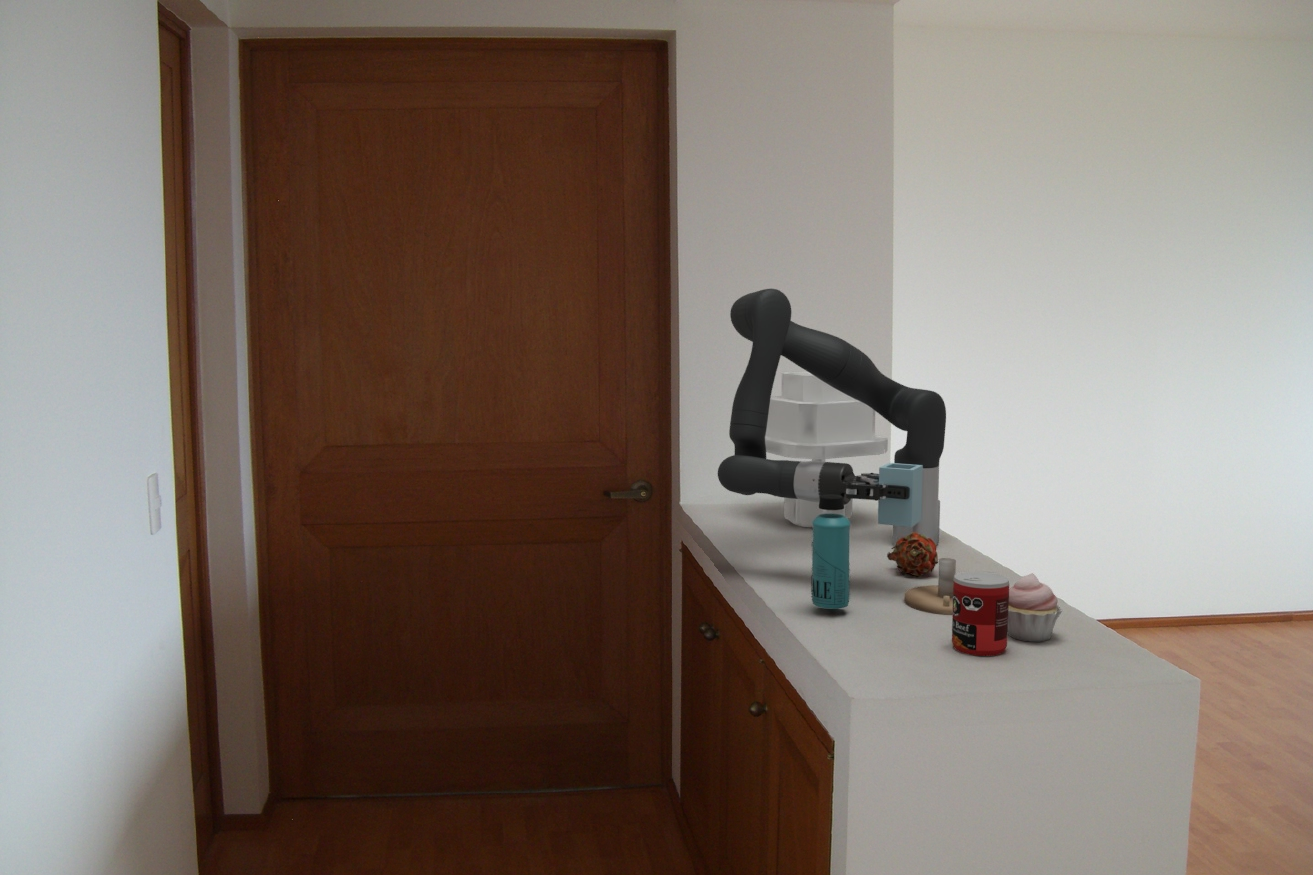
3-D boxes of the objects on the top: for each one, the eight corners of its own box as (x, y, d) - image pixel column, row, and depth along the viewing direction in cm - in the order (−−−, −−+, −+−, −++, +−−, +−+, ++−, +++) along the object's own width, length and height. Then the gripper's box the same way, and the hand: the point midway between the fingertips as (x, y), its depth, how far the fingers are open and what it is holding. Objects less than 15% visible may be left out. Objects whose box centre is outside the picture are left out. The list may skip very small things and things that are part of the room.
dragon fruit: (922, 590, 199) (900, 582, 211) (957, 561, 200) (933, 556, 212) (895, 554, 198) (874, 548, 210) (930, 525, 199) (907, 522, 211)
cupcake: (1074, 638, 165) (1077, 575, 164) (1034, 649, 161) (1037, 584, 159) (1024, 623, 173) (1027, 563, 172) (985, 633, 168) (987, 571, 167)
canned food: (944, 641, 165) (946, 571, 163) (994, 639, 165) (997, 570, 164) (962, 657, 157) (964, 584, 156) (1015, 656, 158) (1018, 583, 156)
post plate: (934, 587, 195) (936, 546, 194) (1004, 603, 184) (1006, 560, 183) (888, 602, 186) (889, 559, 185) (958, 620, 175) (960, 574, 174)
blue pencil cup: (888, 517, 194) (889, 462, 192) (921, 520, 191) (922, 465, 190) (877, 523, 189) (879, 467, 187) (911, 527, 186) (913, 470, 184)
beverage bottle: (852, 608, 182) (854, 492, 179) (846, 619, 176) (848, 499, 173) (814, 605, 184) (815, 490, 182) (806, 616, 178) (808, 497, 175)
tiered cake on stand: (740, 517, 257) (740, 371, 253) (833, 507, 269) (835, 368, 264) (800, 539, 233) (802, 379, 229) (899, 527, 245) (903, 374, 240)
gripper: (809, 467, 189) (903, 474, 181) (837, 456, 202) (926, 463, 193) (809, 509, 190) (902, 518, 182) (836, 495, 203) (925, 503, 194)
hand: (914, 489), depth 188 cm, fingers closed on blue pencil cup, 6 cm apart
